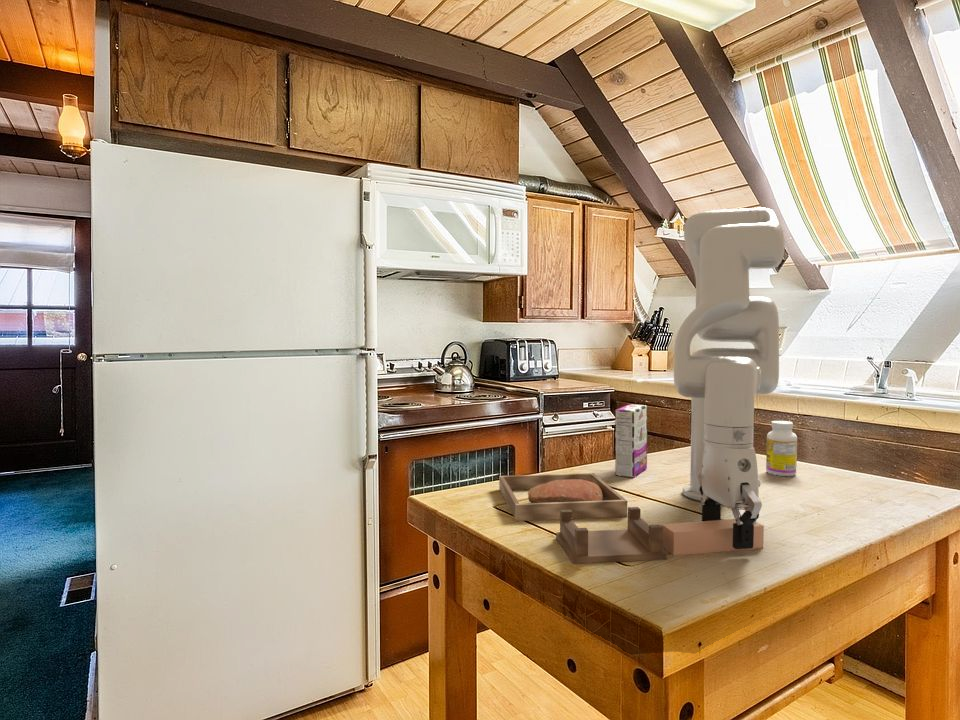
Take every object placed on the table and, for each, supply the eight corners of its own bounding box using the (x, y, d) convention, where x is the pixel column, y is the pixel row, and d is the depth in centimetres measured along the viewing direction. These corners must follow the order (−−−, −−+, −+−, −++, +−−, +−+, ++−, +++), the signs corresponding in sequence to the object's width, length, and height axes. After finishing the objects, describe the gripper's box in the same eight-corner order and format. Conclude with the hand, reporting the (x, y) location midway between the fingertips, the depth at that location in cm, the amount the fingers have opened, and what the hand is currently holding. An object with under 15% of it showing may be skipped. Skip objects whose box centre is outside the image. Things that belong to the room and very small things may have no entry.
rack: (640, 534, 102) (640, 506, 102) (667, 559, 92) (667, 527, 91) (556, 538, 101) (556, 509, 101) (573, 563, 90) (573, 531, 90)
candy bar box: (628, 466, 152) (628, 403, 151) (647, 468, 150) (648, 405, 149) (613, 475, 143) (614, 408, 142) (633, 478, 140) (634, 410, 139)
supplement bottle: (768, 469, 149) (769, 419, 148) (798, 472, 145) (799, 421, 144) (763, 474, 144) (764, 422, 143) (794, 478, 140) (795, 425, 139)
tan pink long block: (747, 541, 100) (748, 518, 100) (763, 549, 96) (763, 525, 96) (661, 547, 97) (661, 524, 97) (673, 557, 93) (674, 532, 93)
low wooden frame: (593, 486, 134) (593, 473, 134) (627, 516, 112) (627, 500, 112) (499, 489, 131) (499, 475, 131) (515, 520, 110) (515, 505, 110)
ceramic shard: (533, 469, 129) (602, 481, 127) (528, 498, 129) (597, 511, 126) (528, 477, 115) (606, 491, 112) (523, 510, 114) (601, 525, 112)
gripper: (782, 444, 88) (780, 556, 89) (721, 425, 105) (719, 519, 106) (736, 446, 87) (733, 558, 88) (682, 426, 104) (680, 521, 105)
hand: (726, 537), depth 97 cm, fingers open, 9 cm apart
